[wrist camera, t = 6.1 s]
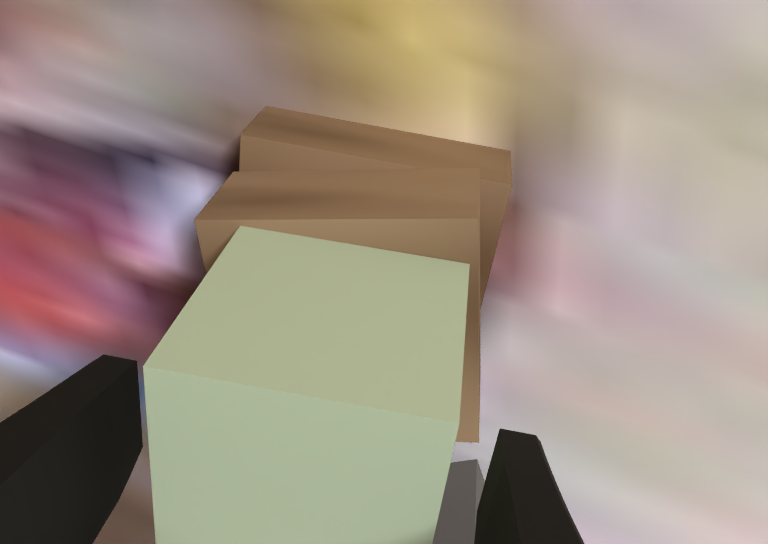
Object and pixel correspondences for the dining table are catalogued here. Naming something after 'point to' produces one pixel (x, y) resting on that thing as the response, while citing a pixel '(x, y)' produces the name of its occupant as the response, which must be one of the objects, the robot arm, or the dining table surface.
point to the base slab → (377, 159)
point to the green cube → (307, 396)
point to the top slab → (366, 228)
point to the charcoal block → (459, 504)
